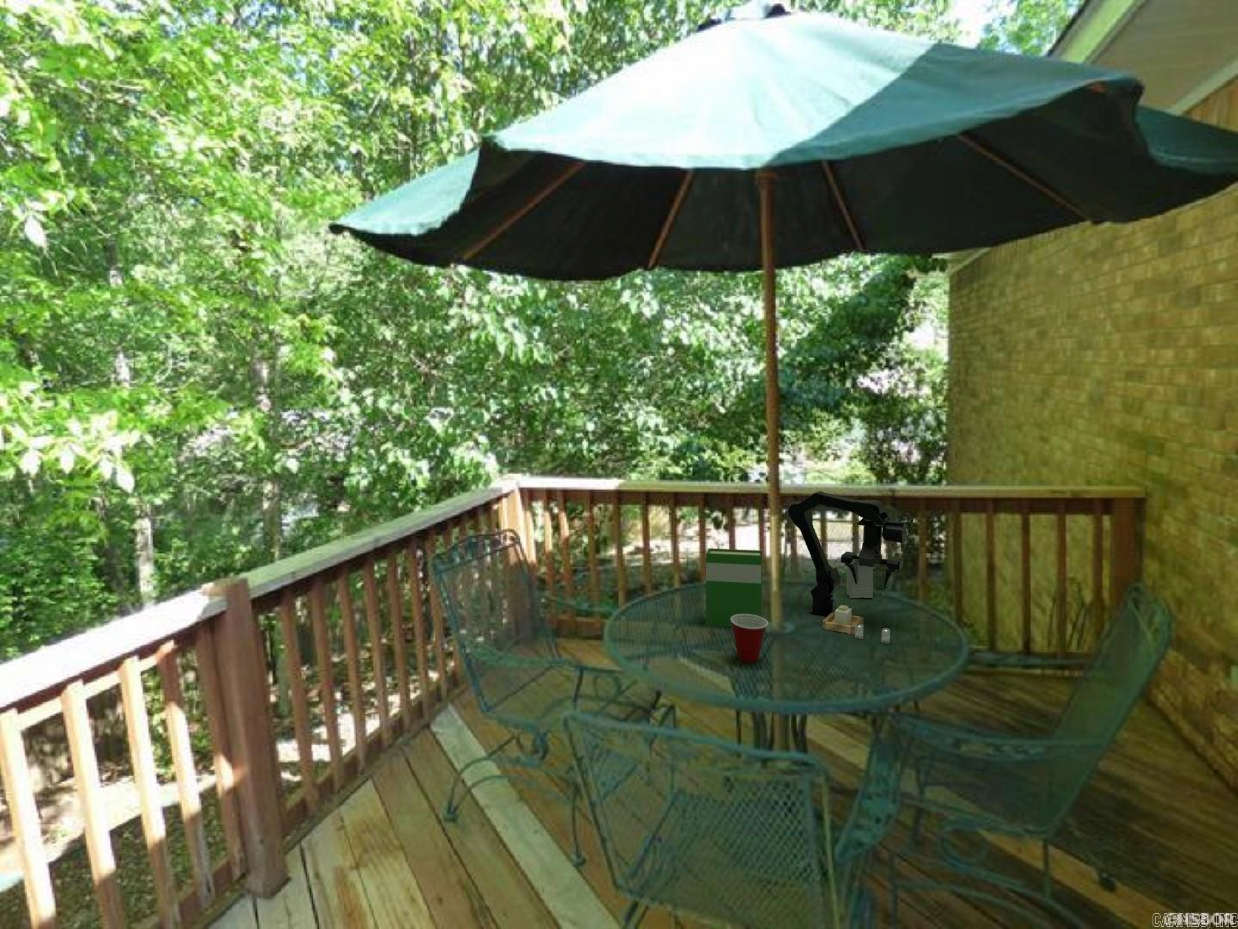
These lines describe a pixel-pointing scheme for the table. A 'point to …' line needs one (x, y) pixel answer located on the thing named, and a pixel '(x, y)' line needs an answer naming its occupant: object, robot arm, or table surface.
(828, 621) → the wooden tray
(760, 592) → the hardback book
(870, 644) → the table surface
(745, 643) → the plastic cup
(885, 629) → the peg
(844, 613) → the plug block
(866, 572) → the skincare box
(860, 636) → the peg
